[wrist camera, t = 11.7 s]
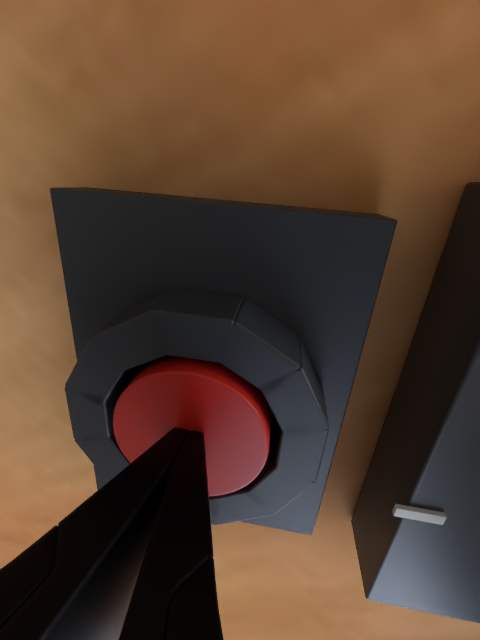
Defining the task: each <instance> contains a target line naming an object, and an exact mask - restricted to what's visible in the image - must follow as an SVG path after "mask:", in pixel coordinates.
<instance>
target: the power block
mask: <svg viewBox="0 0 480 640" xmlns="http://www.w3.org/2000/svg"><path fill="white" fill-rule="evenodd" d="M50 192H51V198H52V204H53V211H54V217H55V223H56V230H57V236H58V242H59V249H60V255H61V261H62V268H63V274H64V280H65V287H66V293H67V299H68V306H69V312H70V318H71V324H72V331H73V337H74V343H75V350H76V356H77V363H76V365H75V367H74V369H73V371H72V373H71V375H70V377H69V379H68V380H67V382H66V385H65V386H66V387H65V392H66V397H67V403H68V408H69V413H70V419H71V424H72V430H73V435H74V438H75V441H76V443H77V444H78V445H79V446H80V448H81V449H82V450H83V451H84V453H85V454H86V455H87V456H88V458H89V459H90V460H91V461H92V463H93V464H94V470H95V476H96V483H97V489H98V490H99V489H100V488H102V487H103V486H104V485H105V484H106V483H108V482H109V481H110V480H111V479H112V478H114V477H115V476H116V475H117V474H118V473H120V472H121V471H122V470H123V469H124V468H126V467H127V466H128V465H129V464H130V462H129V461H128V459H127V458H126V457H125V455H124V454H123V452H122V451H121V449H120V447H119V445H118V443H117V440H116V438H115V434H114V429H113V415H114V409H115V406H116V403H117V401H118V399H119V397H120V395H121V394H122V393H123V391H124V390H125V389H126V388H127V386H128V385H129V384H130V383H131V381H132V380H133V379H134V378H135V376H136V375H137V374H138V373H139V371H140V370H141V369H142V368H143V366H144V365H145V364H146V363H147V362H149V361H152V360H154V359H157V358H160V357H162V356H165V355H170V356H177V357H184V358H191V359H198V360H205V361H212V362H219V363H221V364H222V365H224V366H225V367H227V368H228V369H230V370H231V371H233V372H234V373H236V374H237V375H239V376H240V377H242V378H243V379H245V380H246V381H248V382H249V383H251V384H252V385H254V386H255V387H257V388H258V389H260V390H261V391H262V393H263V395H264V397H265V399H266V401H267V402H268V404H269V406H270V408H271V410H272V416H271V430H270V444H269V454H268V458H267V461H266V463H265V465H264V467H263V469H262V470H261V472H260V473H259V475H258V476H257V477H256V478H255V479H254V480H253V481H252V482H250V483H249V484H248V485H246V486H245V487H243V488H241V489H239V490H237V491H234V492H231V493H228V494H224V495H217V496H209V505H210V518H211V524H215V525H218V524H225V523H231V522H237V521H241V522H246V523H251V524H257V525H262V526H267V527H272V528H277V529H282V530H287V531H293V532H298V533H303V534H308V535H312V533H313V529H314V526H315V522H316V518H317V515H318V511H319V507H320V503H321V500H322V496H323V492H324V489H325V485H326V481H327V478H328V474H329V470H330V467H331V463H332V459H333V456H334V452H335V448H336V445H337V441H338V437H339V434H340V430H341V426H342V423H343V419H344V415H345V412H346V408H347V404H348V401H349V397H350V393H351V390H352V386H353V382H354V379H355V375H356V371H357V367H358V364H359V360H360V356H361V353H362V349H363V345H364V342H365V338H366V334H367V331H368V327H369V323H370V320H371V316H372V312H373V309H374V305H375V301H376V298H377V294H378V290H379V287H380V283H381V279H382V276H383V272H384V268H385V265H386V261H387V257H388V254H389V250H390V246H391V242H392V239H393V235H394V231H395V228H396V224H397V220H395V219H392V218H389V217H386V216H383V215H380V214H372V213H361V212H350V211H339V210H328V209H317V208H307V207H296V206H285V205H274V204H263V203H252V202H241V201H230V200H219V199H208V198H197V197H186V196H175V195H164V194H153V193H142V192H131V191H120V190H109V189H98V188H87V187H86V188H51V189H50Z"/></svg>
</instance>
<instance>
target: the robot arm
mask: <svg viewBox="0 0 480 640" xmlns="http://www.w3.org/2000/svg"><path fill="white" fill-rule="evenodd" d="M0 640H223V634H222V628H221V622H220V616H219V609H218V600H217V591H216V581H215V569H214V559H213V545H212V532H211V518H210V505H209V492H208V479H207V465H206V452H205V439H204V433H203V432H200V431H194V430H190V431H188V430H187V429H182V428H173V429H171V430H170V431H169V432H168V433H167V434H165V435H164V436H163V437H162V438H161V439H159V440H158V441H157V442H156V443H155V444H153V445H152V446H151V447H150V448H149V449H147V450H146V451H145V452H144V453H142V454H141V455H140V456H139V457H138V458H136V459H135V460H134V461H133V462H132V463H130V464H129V465H128V466H127V467H126V468H124V469H123V470H122V471H121V472H120V473H118V474H117V475H116V476H115V477H114V478H112V479H111V480H110V481H109V482H108V483H106V484H105V485H104V486H103V487H102V488H100V489H99V490H98V491H97V492H95V493H94V494H93V495H92V496H91V497H89V498H88V499H87V500H86V501H85V502H83V503H82V504H81V505H80V506H79V507H77V508H76V509H75V510H74V511H73V512H71V513H70V514H69V515H68V516H67V517H65V518H64V519H63V520H62V521H61V522H59V524H58V526H54V527H53V528H52V529H51V530H49V531H48V532H47V533H46V534H45V535H43V536H42V537H41V538H40V539H39V540H37V541H36V542H35V543H34V544H32V545H31V546H30V547H29V548H27V549H26V550H25V551H24V552H22V553H21V554H20V555H19V556H17V557H16V558H15V559H14V560H12V561H11V562H10V563H8V564H7V565H6V566H4V567H3V568H2V569H0Z"/></svg>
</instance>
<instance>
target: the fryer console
mask: <svg viewBox="0 0 480 640" xmlns="http://www.w3.org/2000/svg"><path fill="white" fill-rule="evenodd" d="M351 522H352V527H353V533H354V538H355V543H356V549H357V554H358V559H359V565H360V570H361V575H362V581H363V586H364V591H365V596H366V599H368V600H372V601H376V602H381V603H386V604H391V605H395V606H400V607H405V608H410V609H414V610H419V611H424V612H429V613H433V614H438V615H443V616H448V617H452V618H457V619H462V620H467V621H471V622H476V623H480V182H470V183H468V184H467V185H466V187H465V190H464V193H463V196H462V199H461V202H460V205H459V208H458V211H457V214H456V216H455V219H454V222H453V225H452V228H451V231H450V234H449V237H448V240H447V243H446V246H445V248H444V251H443V254H442V257H441V260H440V263H439V266H438V269H437V272H436V275H435V278H434V281H433V283H432V286H431V289H430V292H429V295H428V298H427V301H426V304H425V307H424V310H423V313H422V316H421V318H420V321H419V324H418V327H417V330H416V333H415V336H414V339H413V342H412V345H411V348H410V350H409V353H408V356H407V359H406V362H405V365H404V368H403V371H402V374H401V377H400V380H399V383H398V385H397V388H396V391H395V394H394V397H393V400H392V403H391V406H390V409H389V412H388V415H387V417H386V420H385V423H384V426H383V429H382V432H381V435H380V438H379V441H378V444H377V447H376V450H375V452H374V455H373V458H372V461H371V464H370V467H369V470H368V473H367V476H366V479H365V482H364V485H363V487H362V490H361V493H360V496H359V499H358V502H357V505H356V508H355V511H354V514H353V517H352V520H351Z"/></svg>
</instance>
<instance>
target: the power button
mask: <svg viewBox="0 0 480 640" xmlns="http://www.w3.org/2000/svg"><path fill="white" fill-rule="evenodd" d="M271 416H272V410H271V408H270V406H269V404H268V402H267V401H266V399H265V397H264V395H263V393H262V391H261V390H260V389H258V388H257V387H255V386H254V385H252V384H251V383H249V382H248V381H246V380H245V379H243V378H242V377H240V376H239V375H237V374H236V373H234V372H233V371H231V370H230V369H228V368H227V367H225V366H224V365H222V364H221V363H219V362H212V361H205V360H198V359H191V358H184V357H177V356H170V355H165V356H162V357H160V358H157V359H154V360H152V361H149V362H147V363H146V364H145V365H144V366H143V368H142V369H141V370H140V371H139V373H138V374H137V375H136V376H135V378H134V379H133V380H132V381H131V383H130V384H129V385H128V386H127V388H126V389H125V390H124V391H123V393H122V394H121V395H120V397H119V399H118V401H117V403H116V406H115V409H114V415H113V429H114V434H115V438H116V440H117V443H118V445H119V447H120V449H121V451H122V452H123V454H124V455H125V457H126V458H127V459H128V461H129V462H130V463H132V462H133V461H134V460H135V459H136V458H138V457H139V456H140V455H141V454H142V453H144V452H145V451H146V450H147V449H149V448H150V447H151V446H152V445H153V444H155V443H156V442H157V441H158V440H159V439H161V438H162V437H163V436H164V435H165V434H167V433H168V432H169V431H170V430H171V429H173V428H182V429H187V430H188V431H190V430H194V431H200V432H203V433H204V439H205V452H206V465H207V479H208V492H209V496H217V495H224V494H228V493H231V492H234V491H237V490H239V489H241V488H243V487H245V486H246V485H248V484H249V483H250V482H252V481H253V480H254V479H255V478H256V477H257V476H258V475H259V473H260V472H261V470H262V469H263V467H264V465H265V463H266V461H267V458H268V454H269V444H270V430H271Z"/></svg>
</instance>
